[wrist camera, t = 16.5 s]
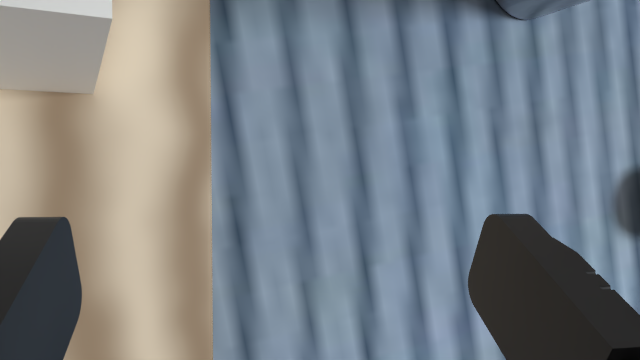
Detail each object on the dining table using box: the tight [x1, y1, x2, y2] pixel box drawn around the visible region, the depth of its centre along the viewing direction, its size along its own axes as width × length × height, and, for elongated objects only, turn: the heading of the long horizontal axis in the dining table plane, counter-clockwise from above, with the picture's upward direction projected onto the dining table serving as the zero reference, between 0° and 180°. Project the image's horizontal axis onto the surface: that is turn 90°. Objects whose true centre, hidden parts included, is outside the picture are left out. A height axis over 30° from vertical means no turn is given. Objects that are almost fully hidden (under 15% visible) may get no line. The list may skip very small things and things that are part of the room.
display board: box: [0, 0, 213, 360], centre depth 26 cm, size 15×30×4 cm, turn 0°
